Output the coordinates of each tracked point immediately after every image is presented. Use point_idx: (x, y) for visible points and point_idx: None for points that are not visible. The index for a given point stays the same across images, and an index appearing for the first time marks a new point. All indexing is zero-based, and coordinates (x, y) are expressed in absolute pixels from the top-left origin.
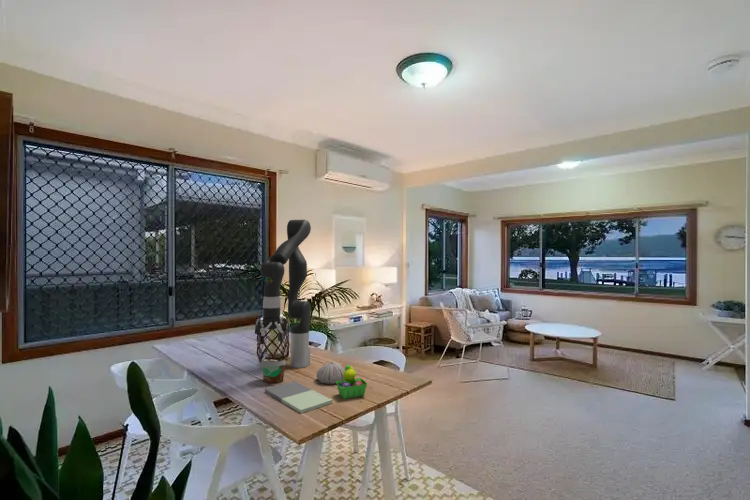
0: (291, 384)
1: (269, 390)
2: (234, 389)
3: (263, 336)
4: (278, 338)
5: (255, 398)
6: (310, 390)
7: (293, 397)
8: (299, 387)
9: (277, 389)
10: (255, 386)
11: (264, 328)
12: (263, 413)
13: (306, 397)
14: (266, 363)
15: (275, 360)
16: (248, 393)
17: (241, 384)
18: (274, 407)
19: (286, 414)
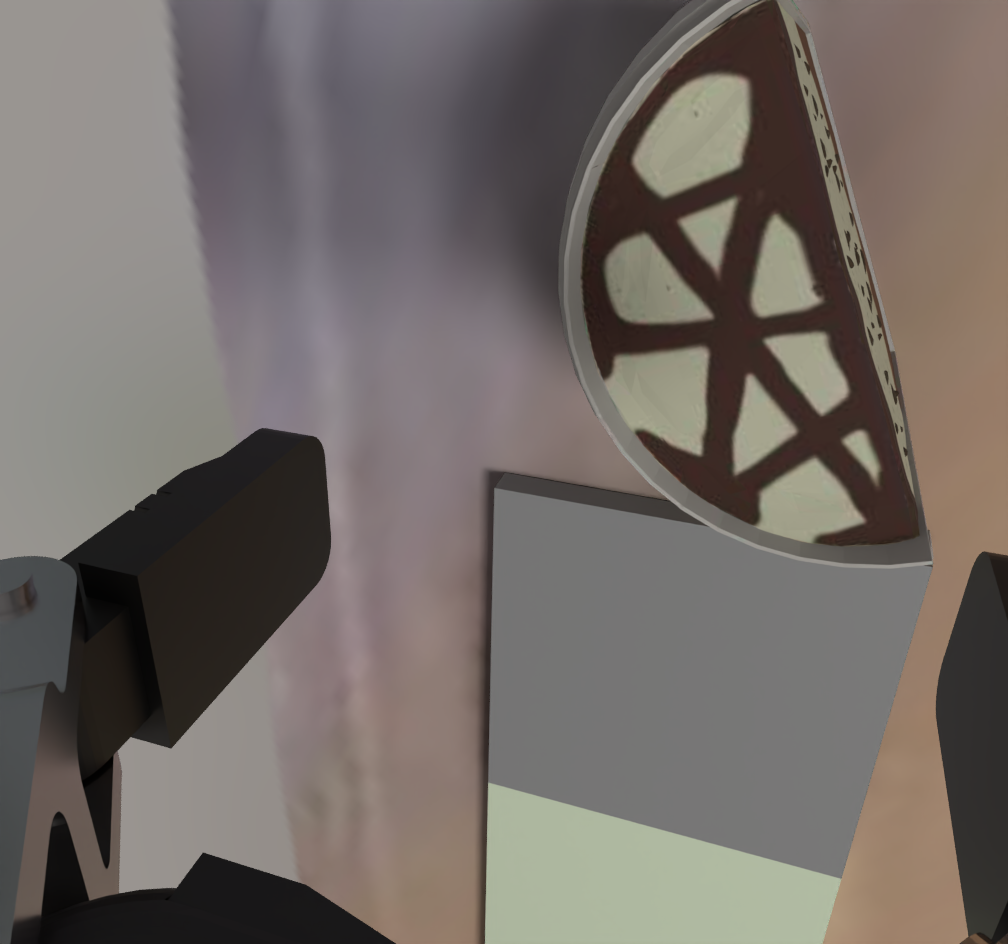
0: (807, 620)
1: (506, 564)
2: (268, 133)
3: (163, 730)
4: (977, 661)
5: (357, 539)
6: (815, 874)
7: (578, 843)
8: (800, 746)
9: (585, 607)
10: (505, 234)
11: (26, 829)
12: (300, 786)
13: (662, 922)
14: (577, 373)
15: (817, 365)
16: (351, 378)
17: (396, 3)
18: (402, 783)
19: (412, 905)
